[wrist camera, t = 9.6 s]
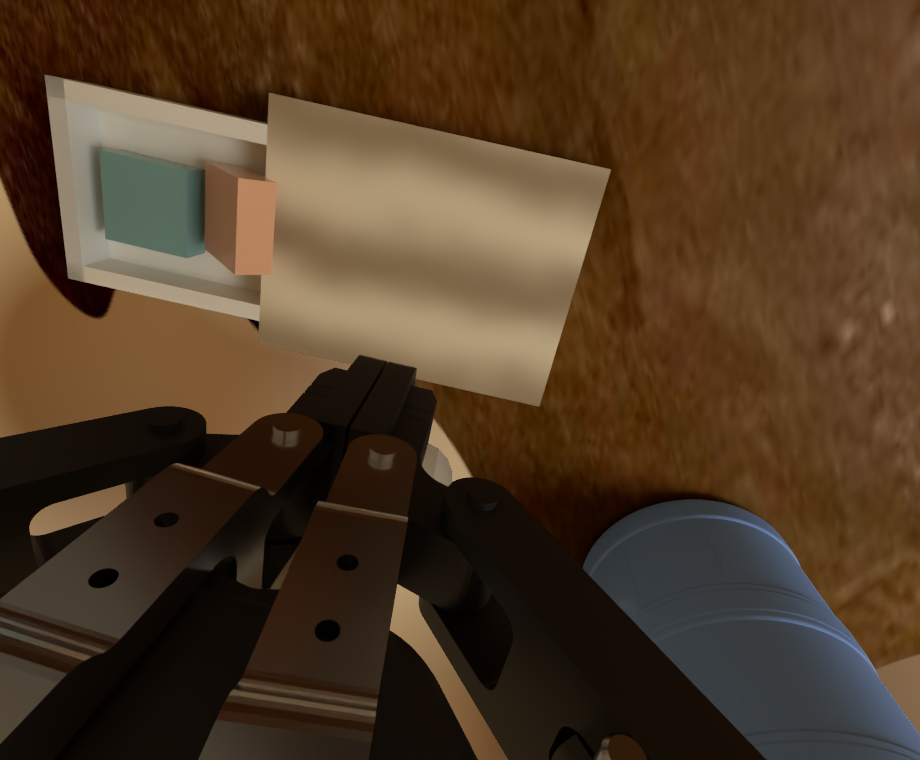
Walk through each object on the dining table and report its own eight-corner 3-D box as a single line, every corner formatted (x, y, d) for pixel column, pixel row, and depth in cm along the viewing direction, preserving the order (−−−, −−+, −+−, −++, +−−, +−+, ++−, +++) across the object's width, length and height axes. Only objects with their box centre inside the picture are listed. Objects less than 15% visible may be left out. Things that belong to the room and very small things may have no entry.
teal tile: (186, 170, 28) (206, 169, 30) (99, 149, 28) (123, 149, 30) (187, 258, 30) (205, 252, 32) (105, 238, 30) (128, 234, 32)
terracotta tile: (241, 166, 30) (205, 160, 29) (276, 182, 27) (238, 177, 26) (238, 250, 32) (204, 248, 31) (271, 275, 29) (234, 274, 28)
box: (87, 82, 30) (44, 74, 27) (289, 127, 30) (267, 124, 27) (103, 268, 34) (68, 278, 31) (279, 308, 34) (259, 321, 31)
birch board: (291, 99, 29) (268, 92, 26) (601, 168, 29) (611, 169, 26) (278, 328, 35) (258, 343, 32) (536, 386, 35) (539, 406, 32)
